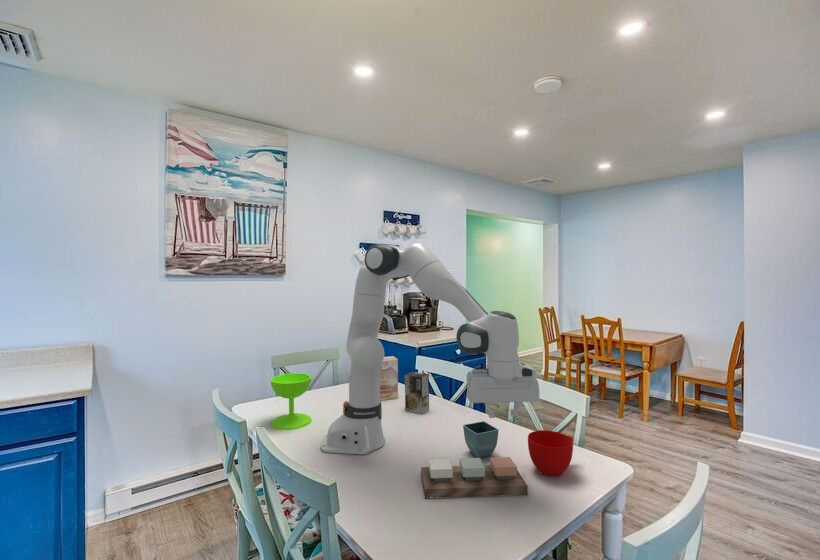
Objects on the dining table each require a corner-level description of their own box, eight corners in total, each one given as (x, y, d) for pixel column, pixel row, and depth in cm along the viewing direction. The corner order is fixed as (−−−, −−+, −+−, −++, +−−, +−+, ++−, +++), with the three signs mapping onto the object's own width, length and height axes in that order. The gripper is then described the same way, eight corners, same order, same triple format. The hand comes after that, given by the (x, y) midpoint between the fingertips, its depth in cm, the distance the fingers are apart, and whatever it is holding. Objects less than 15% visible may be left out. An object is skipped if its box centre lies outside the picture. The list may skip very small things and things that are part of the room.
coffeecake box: (368, 402, 185) (368, 361, 184) (364, 398, 191) (364, 358, 191) (398, 398, 190) (398, 358, 190) (393, 394, 197) (393, 355, 196)
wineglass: (291, 432, 150) (291, 385, 150) (262, 425, 157) (261, 380, 157) (320, 419, 164) (319, 375, 164) (291, 412, 172) (291, 371, 171)
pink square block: (495, 485, 110) (495, 467, 110) (489, 474, 116) (489, 457, 116) (516, 484, 110) (516, 466, 110) (510, 473, 116) (510, 456, 116)
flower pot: (462, 450, 134) (462, 424, 134) (484, 446, 137) (484, 420, 137) (476, 462, 126) (476, 434, 126) (499, 456, 129) (499, 429, 129)
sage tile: (463, 486, 109) (463, 468, 109) (459, 475, 115) (459, 458, 115) (484, 485, 109) (484, 467, 109) (479, 474, 115) (479, 457, 115)
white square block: (431, 487, 109) (430, 469, 109) (428, 476, 115) (428, 459, 115) (452, 486, 109) (452, 468, 109) (449, 475, 115) (449, 458, 115)
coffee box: (429, 410, 174) (429, 373, 174) (422, 414, 168) (422, 377, 168) (412, 406, 179) (412, 371, 179) (404, 410, 173) (404, 374, 173)
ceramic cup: (590, 471, 120) (590, 438, 120) (554, 487, 111) (554, 451, 111) (554, 454, 131) (554, 424, 131) (518, 468, 122) (518, 435, 122)
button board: (424, 498, 106) (424, 489, 106) (421, 475, 118) (421, 467, 117) (527, 494, 107) (527, 485, 107) (513, 472, 119) (513, 464, 119)
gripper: (468, 372, 109) (469, 422, 109) (541, 370, 110) (541, 420, 110) (464, 366, 115) (464, 413, 115) (533, 365, 116) (533, 412, 116)
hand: (502, 416), depth 113 cm, fingers open, 5 cm apart
